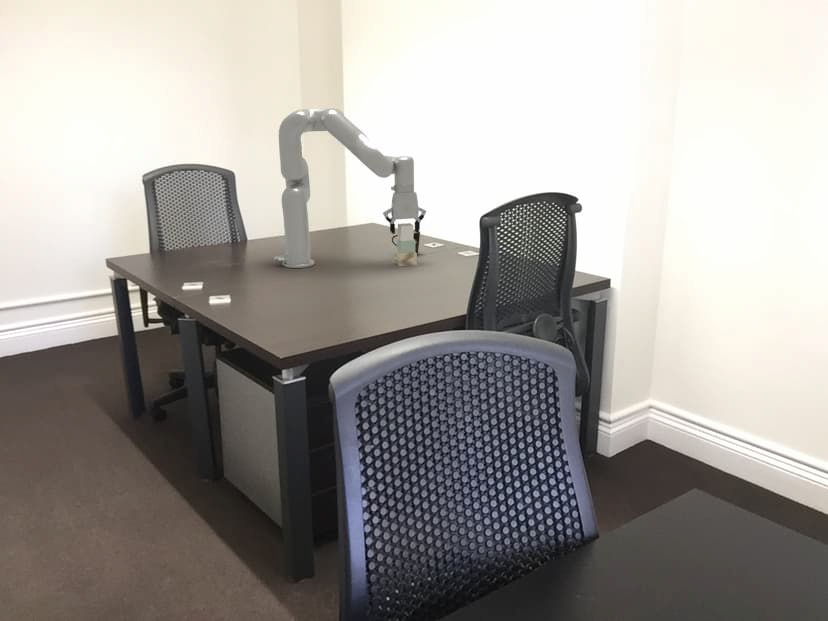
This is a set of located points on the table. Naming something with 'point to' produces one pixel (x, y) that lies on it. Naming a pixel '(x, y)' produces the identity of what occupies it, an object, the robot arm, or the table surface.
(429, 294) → the table surface
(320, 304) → the table surface
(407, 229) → the top block
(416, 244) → the coffee mug
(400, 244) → the tower mid
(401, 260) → the tower base
